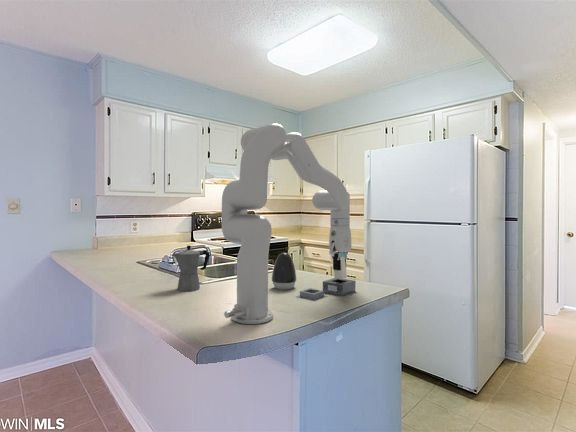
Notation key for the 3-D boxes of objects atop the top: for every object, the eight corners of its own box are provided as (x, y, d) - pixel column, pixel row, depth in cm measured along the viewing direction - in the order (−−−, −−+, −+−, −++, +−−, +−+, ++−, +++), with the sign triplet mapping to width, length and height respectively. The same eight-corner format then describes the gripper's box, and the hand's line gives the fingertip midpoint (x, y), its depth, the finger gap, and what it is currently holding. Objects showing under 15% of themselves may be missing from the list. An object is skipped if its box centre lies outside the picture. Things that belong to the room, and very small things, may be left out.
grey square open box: (314, 302, 118) (314, 295, 118) (295, 298, 124) (295, 291, 124) (328, 297, 125) (328, 290, 125) (309, 293, 131) (309, 287, 131)
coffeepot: (174, 293, 130) (174, 247, 129) (169, 288, 138) (169, 245, 137) (213, 288, 138) (213, 245, 137) (206, 284, 146) (206, 243, 145)
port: (342, 297, 125) (342, 285, 125) (322, 293, 131) (322, 281, 131) (355, 292, 133) (355, 280, 133) (335, 288, 139) (336, 277, 139)
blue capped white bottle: (342, 279, 129) (339, 253, 130) (334, 279, 132) (331, 253, 132) (347, 277, 132) (344, 252, 133) (339, 277, 134) (336, 252, 135)
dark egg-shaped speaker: (298, 286, 142) (299, 251, 142) (292, 292, 132) (293, 254, 132) (276, 285, 145) (276, 250, 145) (268, 290, 135) (268, 253, 135)
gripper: (337, 224, 123) (336, 273, 123) (358, 222, 136) (358, 267, 136) (320, 223, 128) (320, 271, 128) (342, 221, 140) (342, 265, 141)
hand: (339, 268), depth 132 cm, fingers closed on blue capped white bottle, 3 cm apart
